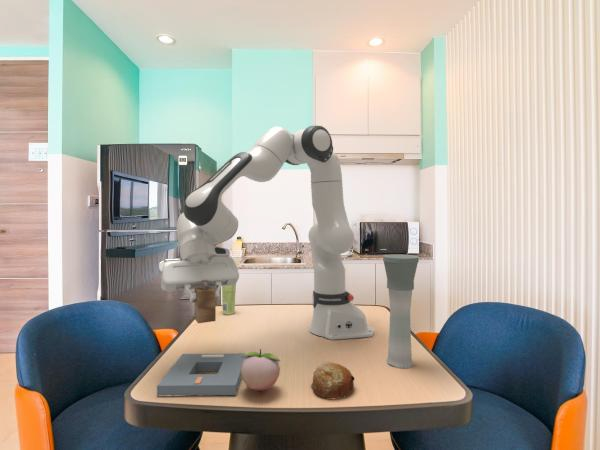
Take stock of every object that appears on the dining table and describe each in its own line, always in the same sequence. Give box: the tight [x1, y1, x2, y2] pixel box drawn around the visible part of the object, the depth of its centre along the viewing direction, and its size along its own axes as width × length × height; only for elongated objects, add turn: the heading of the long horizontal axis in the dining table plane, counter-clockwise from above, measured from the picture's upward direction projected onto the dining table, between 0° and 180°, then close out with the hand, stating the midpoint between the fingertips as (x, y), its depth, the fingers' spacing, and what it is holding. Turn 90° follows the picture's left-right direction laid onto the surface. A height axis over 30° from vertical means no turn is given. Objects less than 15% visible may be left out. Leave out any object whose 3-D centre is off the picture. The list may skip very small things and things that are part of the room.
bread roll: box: [310, 361, 355, 399], centre depth 83 cm, size 10×10×8 cm
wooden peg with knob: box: [193, 280, 217, 324], centre depth 90 cm, size 4×4×10 cm
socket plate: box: [156, 352, 247, 396], centre depth 88 cm, size 18×18×3 cm
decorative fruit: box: [241, 348, 281, 392], centre depth 81 cm, size 9×8×10 cm
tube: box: [221, 267, 239, 316], centre depth 145 cm, size 6×5×20 cm
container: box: [382, 253, 420, 369], centre depth 97 cm, size 10×10×30 cm
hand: (205, 299), depth 89 cm, fingers closed on wooden peg with knob, 4 cm apart
